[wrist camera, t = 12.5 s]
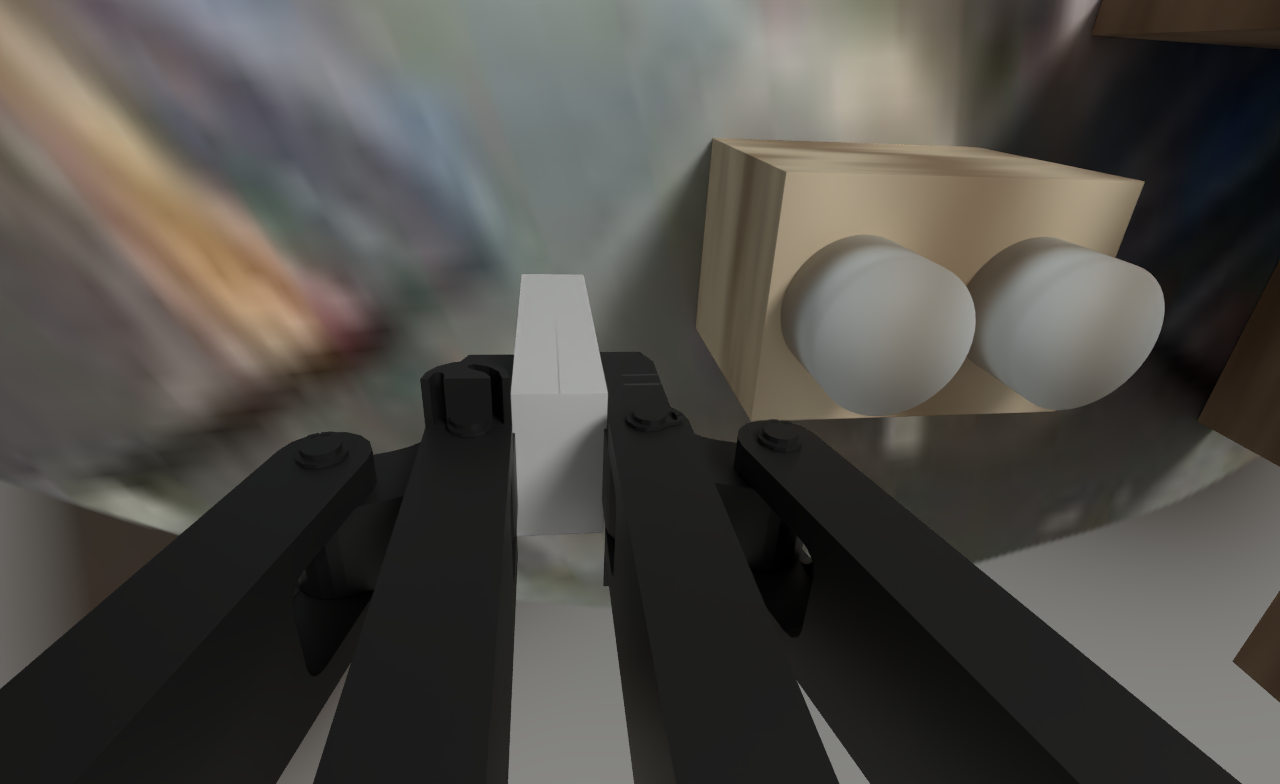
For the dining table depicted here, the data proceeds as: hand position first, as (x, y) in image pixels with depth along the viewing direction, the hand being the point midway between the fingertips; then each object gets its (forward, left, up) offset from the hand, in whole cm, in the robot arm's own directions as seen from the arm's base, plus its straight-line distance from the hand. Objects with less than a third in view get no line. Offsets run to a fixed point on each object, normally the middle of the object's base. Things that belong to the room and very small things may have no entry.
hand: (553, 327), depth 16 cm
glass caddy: (+11, 0, -8) cm, 13 cm away
